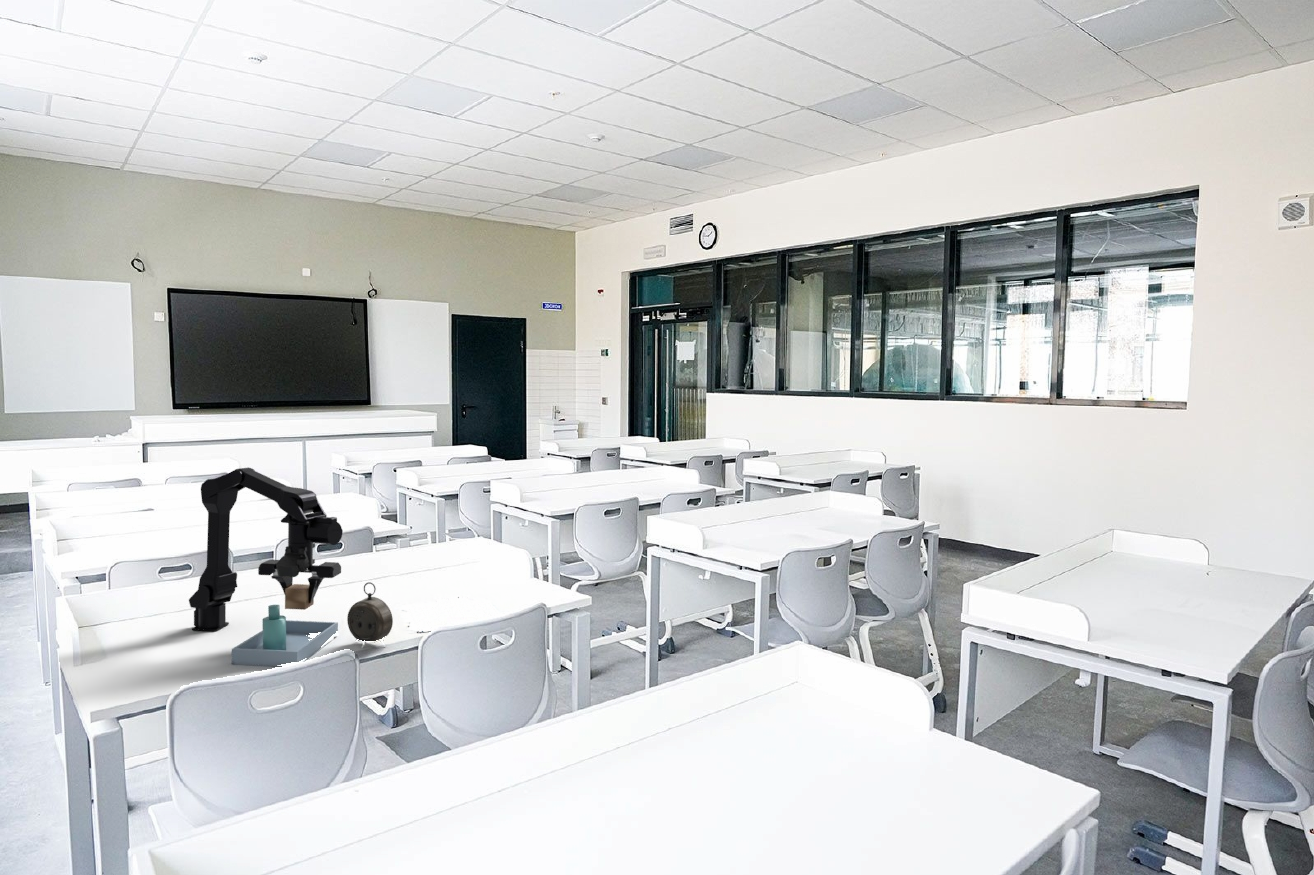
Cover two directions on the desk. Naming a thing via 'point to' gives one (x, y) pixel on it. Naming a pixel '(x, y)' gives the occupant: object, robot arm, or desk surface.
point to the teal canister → (274, 629)
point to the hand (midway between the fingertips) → (299, 602)
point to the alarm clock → (370, 618)
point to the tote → (295, 644)
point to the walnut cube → (297, 597)
